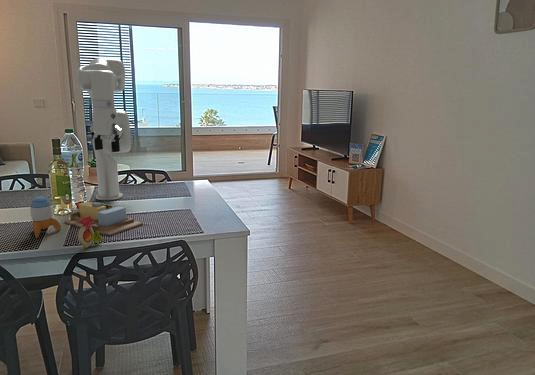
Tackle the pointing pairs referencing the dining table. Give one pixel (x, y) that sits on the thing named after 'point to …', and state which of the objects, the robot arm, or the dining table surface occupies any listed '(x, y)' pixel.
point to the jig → (108, 230)
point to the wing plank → (111, 216)
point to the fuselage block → (90, 209)
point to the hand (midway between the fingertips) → (107, 150)
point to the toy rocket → (42, 215)
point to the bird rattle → (87, 233)
